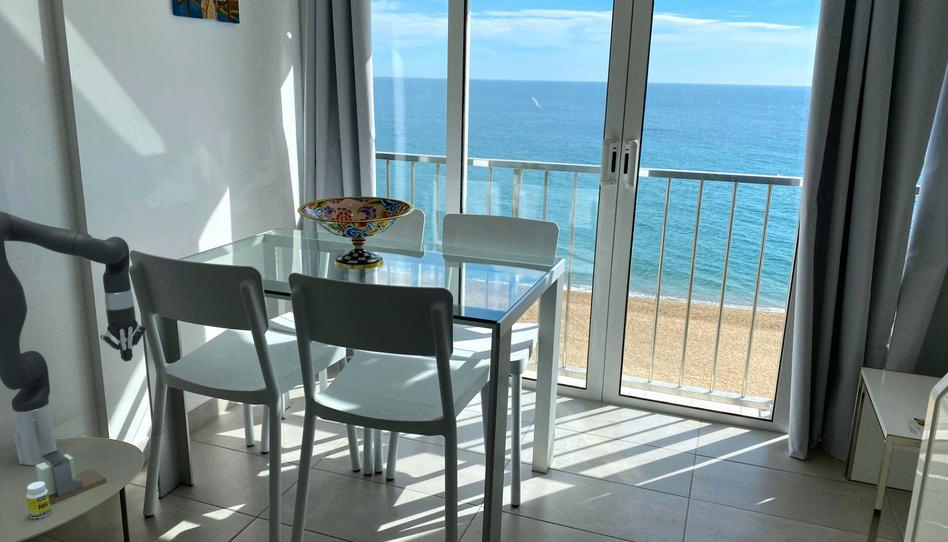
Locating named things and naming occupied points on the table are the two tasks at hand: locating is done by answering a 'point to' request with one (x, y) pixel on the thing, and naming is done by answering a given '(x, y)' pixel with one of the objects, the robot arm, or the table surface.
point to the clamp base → (69, 477)
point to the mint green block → (47, 476)
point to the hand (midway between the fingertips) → (127, 360)
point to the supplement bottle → (38, 500)
